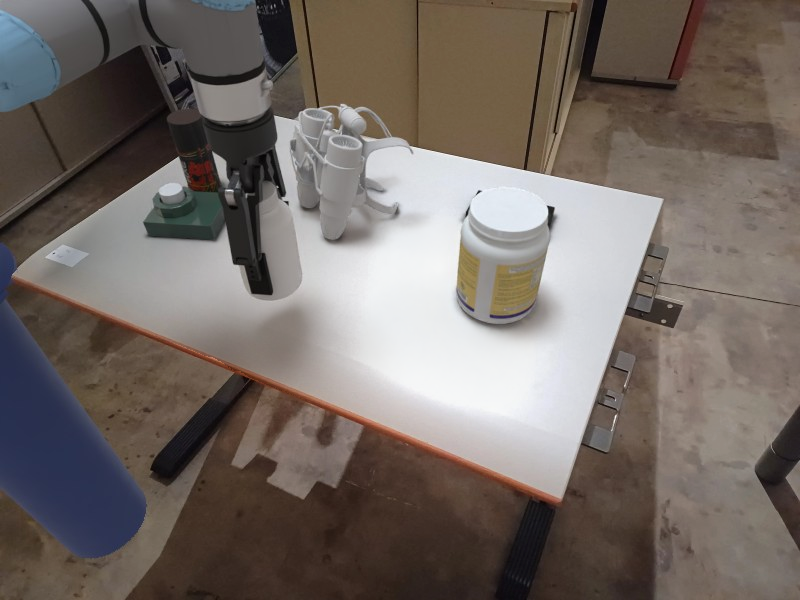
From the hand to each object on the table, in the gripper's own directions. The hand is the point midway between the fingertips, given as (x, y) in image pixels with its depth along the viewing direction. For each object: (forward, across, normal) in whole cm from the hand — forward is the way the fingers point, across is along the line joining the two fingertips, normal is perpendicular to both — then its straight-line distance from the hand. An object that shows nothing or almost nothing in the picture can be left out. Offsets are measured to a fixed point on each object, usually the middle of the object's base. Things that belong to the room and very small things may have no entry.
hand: (271, 270), depth 74 cm
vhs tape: (+10, +29, -34) cm, 46 cm away
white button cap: (+6, +23, +25) cm, 34 cm away
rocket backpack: (+10, +30, -6) cm, 32 cm away
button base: (+11, +23, +23) cm, 34 cm away
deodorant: (+11, +33, +24) cm, 42 cm away
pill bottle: (+2, 0, 0) cm, 2 cm away
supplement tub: (+10, +8, -31) cm, 34 cm away
